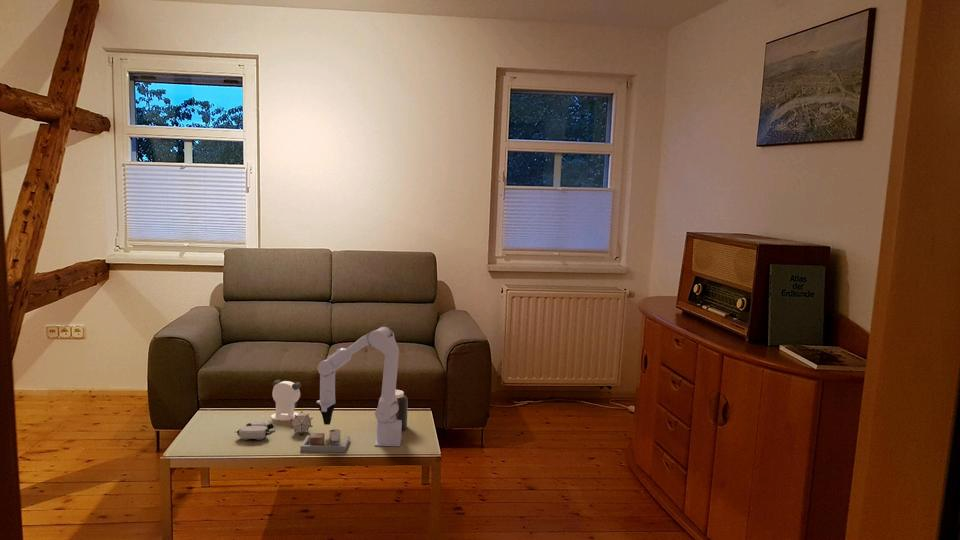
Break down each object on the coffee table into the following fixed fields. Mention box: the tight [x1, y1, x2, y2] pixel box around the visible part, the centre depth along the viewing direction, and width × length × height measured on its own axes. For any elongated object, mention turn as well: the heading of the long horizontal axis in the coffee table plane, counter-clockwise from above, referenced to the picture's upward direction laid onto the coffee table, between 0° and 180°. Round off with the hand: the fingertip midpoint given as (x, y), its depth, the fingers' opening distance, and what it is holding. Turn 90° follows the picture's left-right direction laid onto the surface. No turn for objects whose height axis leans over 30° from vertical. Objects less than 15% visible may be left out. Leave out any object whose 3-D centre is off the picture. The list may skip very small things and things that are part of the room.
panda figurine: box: [270, 379, 302, 422], centre depth 257 cm, size 12×11×15 cm
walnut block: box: [309, 432, 326, 445], centre depth 226 cm, size 4×4×4 cm
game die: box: [289, 410, 314, 436], centre depth 239 cm, size 9×8×10 cm
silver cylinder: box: [328, 428, 341, 446], centre depth 226 cm, size 4×4×6 cm
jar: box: [378, 389, 409, 433], centre depth 248 cm, size 12×12×15 cm
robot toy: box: [234, 421, 276, 441], centre depth 234 cm, size 12×4×15 cm
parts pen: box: [300, 434, 351, 453], centre depth 227 cm, size 16×11×2 cm
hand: (327, 424), depth 237 cm, fingers closed
